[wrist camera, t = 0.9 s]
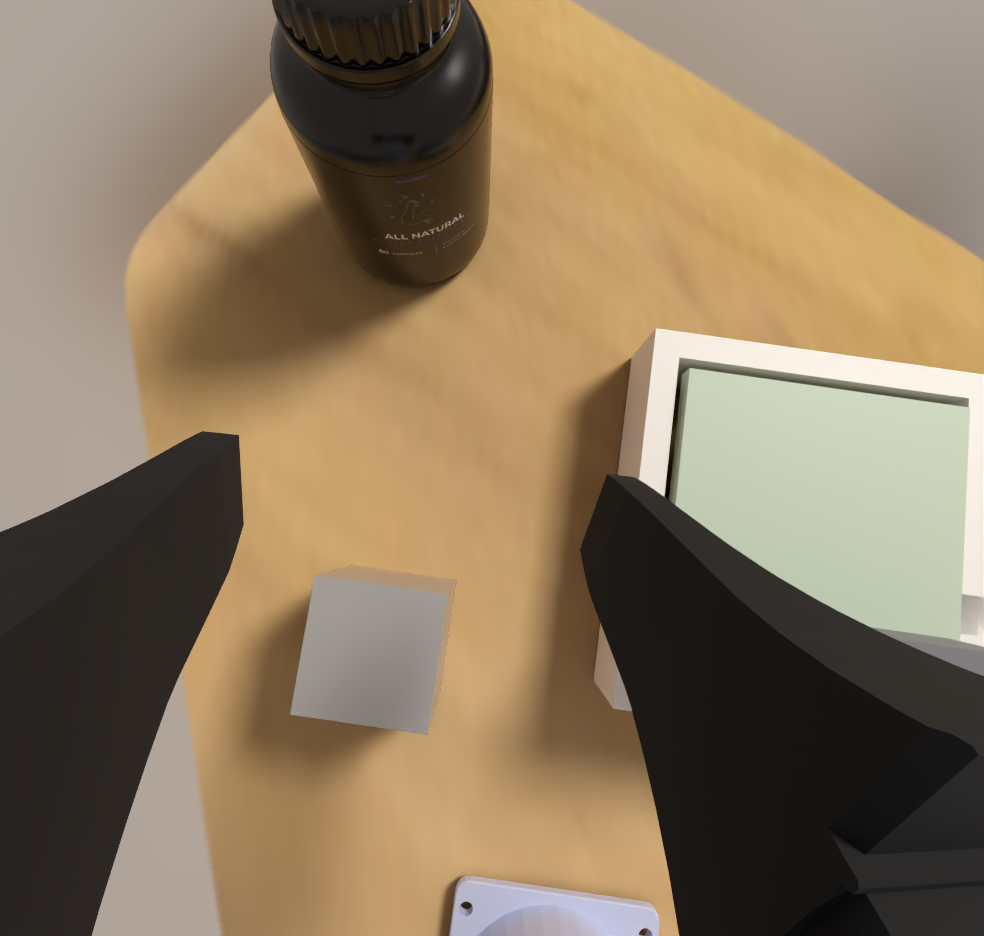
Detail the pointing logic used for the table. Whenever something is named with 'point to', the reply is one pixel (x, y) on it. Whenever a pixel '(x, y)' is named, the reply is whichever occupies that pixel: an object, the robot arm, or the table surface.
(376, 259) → the supplement bottle
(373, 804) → the table surface
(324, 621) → the grey block
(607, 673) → the trapdoor frame
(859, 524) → the trapdoor
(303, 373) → the table surface
